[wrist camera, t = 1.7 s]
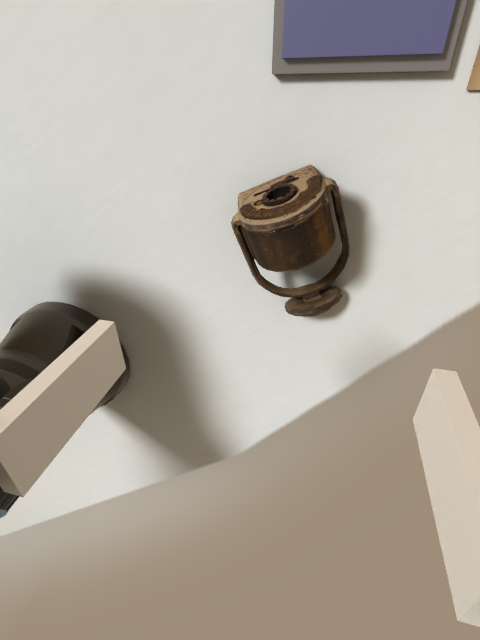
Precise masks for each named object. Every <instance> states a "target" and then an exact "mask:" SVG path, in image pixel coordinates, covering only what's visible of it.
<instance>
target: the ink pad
mask: <svg viewBox="0 0 480 640" xmlns="http://www.w3.org/2000/svg"><path fill="white" fill-rule="evenodd" d="M467 1H468V0H275V6H274V32H273V59H272V74H273V75H278V74H328V73H378V72H427V71H448V70H449V68H450V64H451V60H452V57H453V53H454V49H455V46H456V42H457V38H458V34H459V31H460V27H461V23H462V19H463V16H464V12H465V8H466V4H467Z"/></svg>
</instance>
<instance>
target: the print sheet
mask: <svg viewBox="0 0 480 640" xmlns="http://www.w3.org/2000/svg"><path fill="white" fill-rule="evenodd" d="M467 90H480V46H479V50H478V53H477V56H476V60H475V63H474V66H473V70H472V73H471V76H470V80H469V83H468V87H467Z"/></svg>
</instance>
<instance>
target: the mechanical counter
mask: <svg viewBox="0 0 480 640" xmlns="http://www.w3.org/2000/svg"><path fill="white" fill-rule="evenodd" d="M329 190H331V194H332V199H333V204H334V210H335V215H336V219H337V223H338V227H339V232H340V237H341V241H342V252H341V255H340V257H339V259H338V260H337V262H336V264H335V266H334V268H333V269H332V270H331V271H330V272H329V273H328V274H327V275H326V276H325V277H323V278H322V279H321V280H319V281H317V282H315V283H312V284H308V285H305V286H302V287H299V288H291V289H289V288H282V287H278V286H276V285H274V284H272V283H270V282H269V281H267V280H266V279H265V278H264V277H263V276H262V275H261V274H260V272H259V270H258V268H257V266H256V264H255V261H254V259H256V261H257V262H258V264H259V265H260V266H261V267H263V268H265V269H267V270H270V271H275V272H283V271H293V270H297V269H301V268H304V267H306V266H308V265H311V264H313V263H315V262H317V261H318V260H319V259H321V258H322V257H323V256H325V255H326V254H327V253H328V252H329V251H330V249H331V247H332V246H333V244H334V241H335V231H334V226H333V222H332V217H331V212H330V207H329V198H328V197H327V194H328V191H329ZM231 224H232V228H233V231H234V233H235V236H236V238H237V240H238V243H239V245H240V247H241V249H242V252H243V254H244V256H245V259H246V261H247V263H248V266H249V268H250V270H251V272H252V275H253V276H254V278H255V279H256V281H257V282H258V284H259V285H261V286H262V287H263V288H265V289H266V290H268V291H270V292H271V293H273V294H276V295H279V296H283V297H292V298H291V299H289V300H288V301H287V302H286V303H285V309H286V311H287V312H288V313H289V314H291V315H295V316H305V317H306V316H315V315H318V314H321V313H323V312H326V311H328V310H329V309H330V308H331V307H332V306H334V305H335V304H336V303H337V302H338V301H339V300H340V298H341V297H342V290H341V289H339V288H337V287H332V286H329V285H330V284H331V283H333V282H334V281H335V280H336V278H337V277H338V276H339V275H340V273H341V272H342V270H343V269H344V267H345V264H346V262H347V259H348V257H349V239H348V234H347V229H346V224H345V219H344V213H343V208H342V203H341V198H340V193H339V188H338V186H337V184H336V182H335V181H334V180H332V179H330V178H322V177H321V176H320V175H319V173H318V172H317V170H316V169H315V167H313V166H312V165H309V166H306V167H303V168H301V169H298V170H296V171H293V172H290V173H288V174H285V175H282V176H280V177H277V178H275V179H272V180H270V181H267V182H265V183H263V184H260V185H258V186H256V187H253V188H251V189H249V190H246V191H244V192H242V193H240V194H239V196H238V213H237V214H236V215H235V216H233V219H232V222H231Z"/></svg>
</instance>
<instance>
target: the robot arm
mask: <svg viewBox="0 0 480 640" xmlns="http://www.w3.org/2000/svg"><path fill="white" fill-rule="evenodd" d="M128 377H129V362H128V358H127V355H126V353H125V351H124V349H123V347H122V345H121V343H120V342H119V338H118V334H117V330H116V325H115V322H113V321H106V320H98V319H97V318H95V317H94V316H92V315H91V314H89V313H87V312H85V311H84V310H82V309H79V308H77V307H75V306H72V305H69V304H65V303H60V302H45V303H40V304H38V305H35V306H34V307H32V308H31V309H29V310H28V311H26V312H25V313H23V314H22V315H21V316H19V317H18V318H17V319H16V320H15V322H14V323H13V325H12V327H11V328H10V331H9V333H8V334H7V335H6V336H5V338H4V339H3V340H2V342H1V343H0V518H1V517H4V516H5V515H6V514H7V512H8V510H9V509H10V508H11V506H12V505H13V504H14V503H15V501H16V500H17V499H18V497H19V496H21V497H24V495H25V494H26V493H27V492H28V491H29V489H30V488H31V487H32V486H33V484H34V483H35V482H36V481H37V479H38V478H39V477H40V476H41V474H42V473H43V472H44V471H45V469H46V468H47V467H48V466H49V464H50V463H51V462H52V461H53V459H54V458H55V457H56V456H57V454H58V453H59V452H60V451H61V449H62V448H63V447H64V446H65V444H66V443H67V442H68V441H69V439H70V438H71V437H72V436H73V434H74V433H75V432H76V431H77V429H78V428H79V427H80V426H81V424H82V423H83V422H84V421H85V419H86V418H87V417H88V416H89V415H90V414H91V413H93V412H94V411H95V410H96V409H97V408H99V407H100V406H103V405H105V404H107V403H109V402H110V401H112V400H113V399H114V398H115V397H116V396H117V395H118V393H119V392H120V391H121V389H122V388H123V387H124V385H125V384H126V382H127V380H128ZM413 422H414V427H415V431H416V436H417V440H418V445H419V449H420V453H421V458H422V463H423V467H424V472H425V476H426V481H427V486H428V490H429V494H430V499H431V504H432V508H433V513H434V517H435V521H436V526H437V531H438V535H439V539H440V544H441V549H442V553H443V558H444V562H445V567H446V571H447V576H448V581H449V585H450V590H451V594H452V599H453V603H454V608H455V612H456V616H457V620H458V621H461V622H465V623H468V624H471V625H475V626H478V627H480V427H479V425H478V422H477V420H476V418H475V415H474V413H473V411H472V408H471V406H470V404H469V401H468V399H467V396H466V394H465V391H464V389H463V387H462V384H461V382H460V379H459V377H458V375H457V372H455V371H448V370H440V369H433V370H432V373H431V375H430V378H429V380H428V383H427V385H426V388H425V390H424V393H423V395H422V398H421V400H420V403H419V405H418V408H417V410H416V413H415V415H414V418H413Z"/></svg>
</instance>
